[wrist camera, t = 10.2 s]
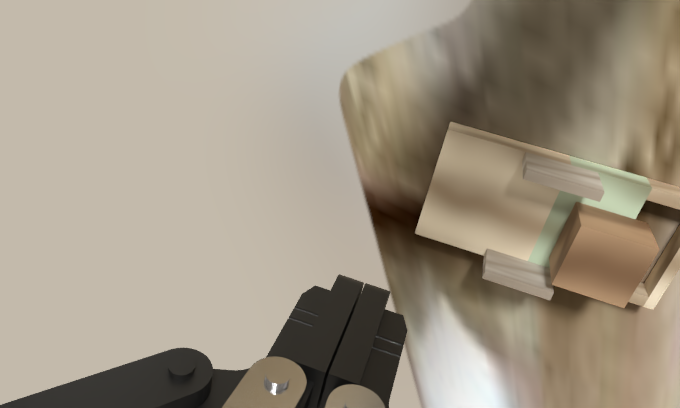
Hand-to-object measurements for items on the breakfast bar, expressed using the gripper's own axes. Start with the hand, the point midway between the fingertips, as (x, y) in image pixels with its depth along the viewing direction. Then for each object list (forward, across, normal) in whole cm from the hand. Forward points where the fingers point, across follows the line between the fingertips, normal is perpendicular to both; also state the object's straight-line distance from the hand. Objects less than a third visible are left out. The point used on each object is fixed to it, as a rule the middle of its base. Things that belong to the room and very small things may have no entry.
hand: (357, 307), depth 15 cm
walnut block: (+30, -15, +10) cm, 35 cm away
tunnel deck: (+32, -11, +10) cm, 35 cm away
